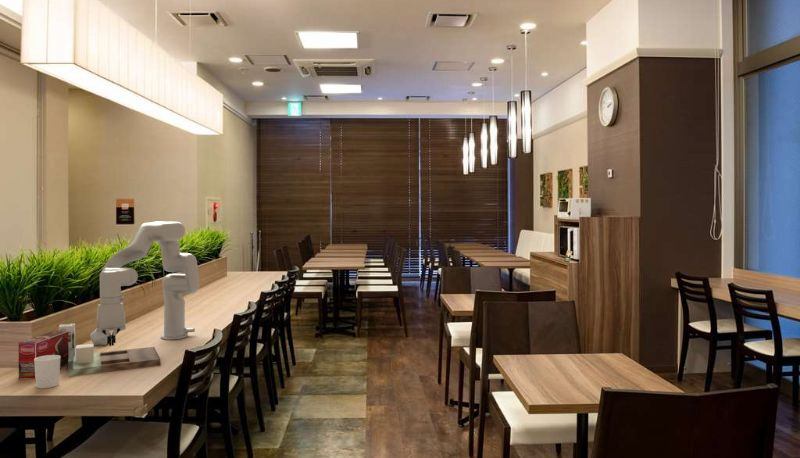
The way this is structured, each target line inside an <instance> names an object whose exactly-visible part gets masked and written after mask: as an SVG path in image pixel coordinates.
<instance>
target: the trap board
mask: <svg viewBox="0 0 800 458" xmlns="http://www.w3.org/2000/svg"><path fill="white" fill-rule="evenodd" d="M155 365H157V366H161V357H160V355H159V353H158V351H157V350H156V347H155V346H150V347H140V348H139V347H138V348H131V349H130V348H129V349H121V350H120V349H119V350H110V351H102V352H94V362H87V363H78V364H76V354H75V355H74V348H70V349H69V358H68V364H67V376H68V377H73V376H80V375H81V376H82V375H89V374H91V375H92V374H97V373H98V374H99V373H106V372H115V371H124V370H131V369H140V368H141V369H142V368H147V367H148V366H149V367H156V366H155ZM149 367H148V368H149Z"/></svg>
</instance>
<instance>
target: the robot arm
mask: <svg viewBox="0 0 800 458" xmlns="http://www.w3.org/2000/svg"><path fill="white" fill-rule="evenodd" d="M185 233H186V228H185V226H184V224H183V223H181V222H180V221H152V222H143V223H141V224H140V225H139V227H138V228H137V230H136V231H135V233H134V235H133V236H132V238H131V240H130V241H129V243H128V244H127V246H125V247H123V248H122V249H121V250H119V251H117V252H116V253H114V254H113V255H112V256H110V258H109V259H107V261H106V262H105V264H104V266H103V268H102V270H101V272H100V273H99V303H98V304H97V309H96V328H97V329H96V328H95V329H96V332H100V333H104V334H105V335H106V336H107V343H106V345H107V344H108V346H109V347H112V346H114V345H115V344H116V343H117V342H116V341H117V339H116V336H117V334H118V333H119V332H121V331H124V330H126V328H127V327H126V314H125V306H124V303H123V302H122V301H126V297H125V296H122V288H121V287H125V286H127V287H129V286H132V285H134V284H135V283H136V282H137V281H138V278H139V274H138V271H137V270H135V269H134V268H133V267H132V268H131V267H123V266H125V265H127V264H129V263H132V262H135V261H138V260H141V259H143V258H145V257H146V256H147V254H148V252H149V250H150V249H151V247H152V246H153V244H154V243H155V242H157V243H158V245H159V248H160V253H161V261H162V267H163V270H164V271H166V272H169V273H168V274H166V275H164V276H163V278H162V279H161V287H162V292H163V308H164V309H163V313H164V314H163V317H164V318H163V330H164V331H163V333H162V334H161V335H160V339H161V340H169V341H170V340H171V341H173V340H182V339H185V338H188V336H189V333H195V332H196V329H195V327H186V322H185V321H186V319H185V318H186V316H185V313H186V312H185V311H186V307H185V306H186V301H185V298H184V296H183V294H194V293H196V292H198V291H199V288H200V278H199V268H198V267H199V266H198V262H197V258H196V256H195V255H194V254H192V253H188V252H181V250H180V243H179V240H182V239H183V238H184V236H185ZM110 329H113V330H112V332H110V333H111V334H110V333H109V330H110Z"/></svg>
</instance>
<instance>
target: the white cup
mask: <svg viewBox="0 0 800 458" xmlns="http://www.w3.org/2000/svg"><path fill="white" fill-rule="evenodd" d="M60 357H61V356H59V355H46V356H40V357H37V358H35V359H34V367H35V387H36V388H37V389H49V388H53V387H56V386H58V385H59V382H60V380H59V379H60V374H61V373H60V371H61V367H60Z"/></svg>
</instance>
